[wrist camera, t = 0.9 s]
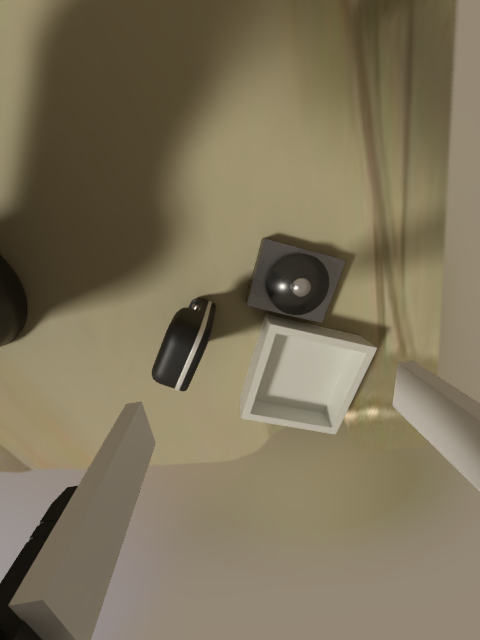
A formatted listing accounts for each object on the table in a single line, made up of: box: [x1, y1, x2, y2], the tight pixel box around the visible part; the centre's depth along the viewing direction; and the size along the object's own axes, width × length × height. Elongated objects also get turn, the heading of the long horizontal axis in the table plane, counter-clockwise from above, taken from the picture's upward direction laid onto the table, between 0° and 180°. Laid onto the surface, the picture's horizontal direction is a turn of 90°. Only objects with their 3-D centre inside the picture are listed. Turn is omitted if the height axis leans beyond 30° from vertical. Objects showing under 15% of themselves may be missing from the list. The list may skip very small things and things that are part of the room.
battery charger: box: [152, 298, 216, 391], centre depth 25 cm, size 7×4×11 cm, turn 155°
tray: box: [240, 314, 377, 434], centre depth 32 cm, size 14×14×4 cm
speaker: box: [245, 238, 346, 323], centre depth 27 cm, size 10×8×4 cm
